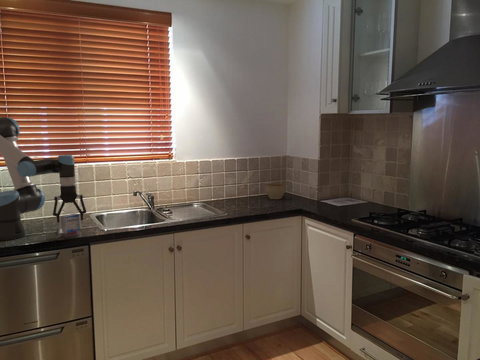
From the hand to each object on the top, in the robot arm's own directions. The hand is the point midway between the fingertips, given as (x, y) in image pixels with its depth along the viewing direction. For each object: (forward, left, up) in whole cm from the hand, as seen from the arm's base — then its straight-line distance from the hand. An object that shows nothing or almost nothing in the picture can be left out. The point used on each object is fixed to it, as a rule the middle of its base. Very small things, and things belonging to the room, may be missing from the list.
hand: (70, 227), depth 218 cm
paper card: (-2, +11, -4) cm, 12 cm away
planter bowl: (+144, +53, -4) cm, 153 cm away
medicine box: (0, 0, -2) cm, 2 cm away
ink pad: (0, 0, -4) cm, 4 cm away
